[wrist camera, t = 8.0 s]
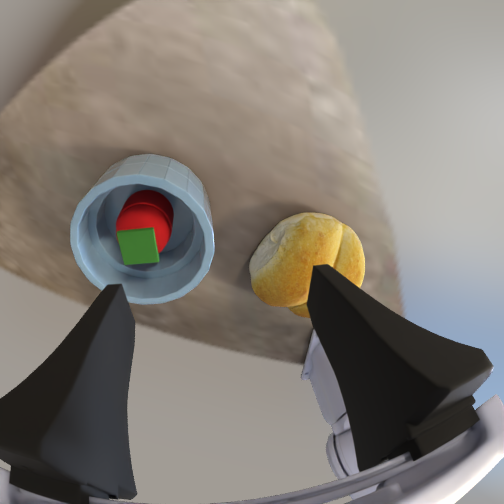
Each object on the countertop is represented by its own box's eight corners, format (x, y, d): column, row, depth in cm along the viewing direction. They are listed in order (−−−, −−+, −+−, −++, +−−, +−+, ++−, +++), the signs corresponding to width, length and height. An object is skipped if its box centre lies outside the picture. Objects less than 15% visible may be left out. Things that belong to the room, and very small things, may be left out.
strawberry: (176, 234, 19) (173, 271, 16) (127, 239, 18) (115, 276, 15) (170, 186, 17) (164, 215, 14) (118, 192, 16) (101, 222, 13)
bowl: (212, 257, 21) (217, 299, 17) (107, 265, 20) (93, 307, 16) (207, 146, 17) (210, 167, 13) (83, 161, 15) (54, 187, 12)
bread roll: (313, 310, 26) (328, 343, 23) (231, 275, 22) (238, 312, 19) (374, 244, 23) (399, 272, 20) (299, 188, 19) (321, 214, 16)
